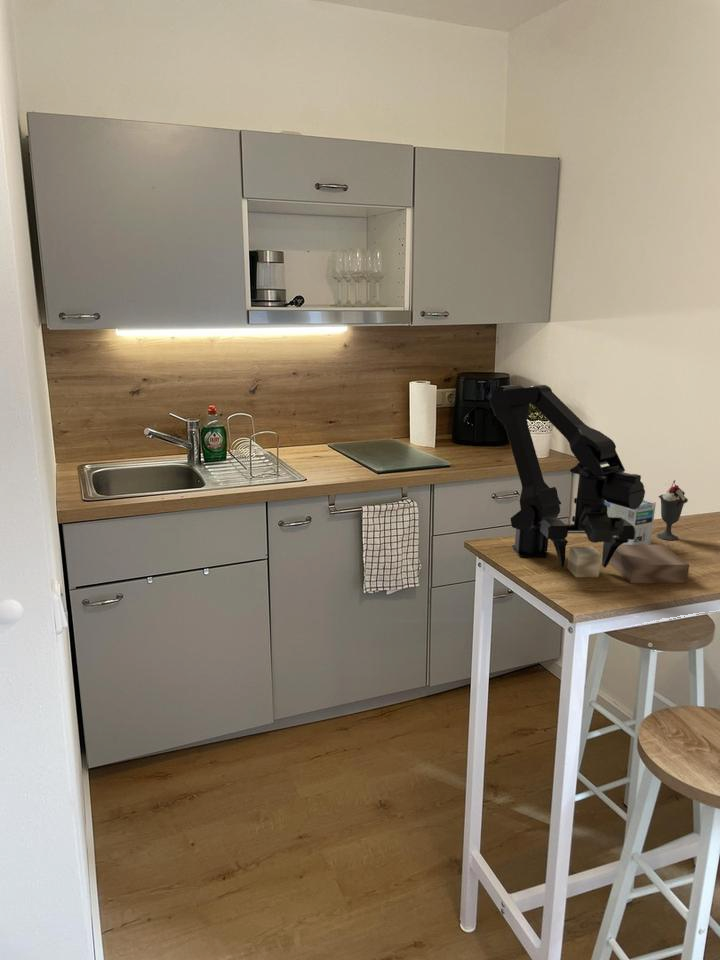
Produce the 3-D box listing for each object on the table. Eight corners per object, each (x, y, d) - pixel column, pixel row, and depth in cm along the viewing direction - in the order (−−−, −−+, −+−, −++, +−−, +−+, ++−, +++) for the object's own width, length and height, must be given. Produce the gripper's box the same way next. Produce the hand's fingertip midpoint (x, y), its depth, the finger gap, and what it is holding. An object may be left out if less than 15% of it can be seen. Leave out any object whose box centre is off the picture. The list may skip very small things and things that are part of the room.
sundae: (660, 541, 175) (668, 482, 172) (648, 532, 182) (656, 474, 178) (686, 542, 176) (695, 482, 172) (674, 532, 182) (682, 475, 178)
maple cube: (575, 577, 153) (578, 555, 151) (567, 568, 157) (569, 546, 156) (598, 577, 153) (601, 555, 152) (589, 568, 158) (592, 546, 157)
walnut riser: (631, 583, 150) (633, 565, 149) (607, 561, 162) (609, 544, 161) (686, 582, 151) (689, 564, 150) (659, 561, 163) (661, 544, 162)
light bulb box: (651, 545, 173) (657, 502, 170) (632, 549, 170) (638, 505, 167) (616, 531, 182) (621, 490, 179) (597, 535, 179) (602, 493, 176)
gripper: (560, 508, 142) (553, 582, 146) (652, 508, 144) (642, 581, 148) (542, 492, 153) (536, 562, 157) (628, 493, 155) (619, 561, 159)
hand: (583, 567), depth 155 cm, fingers open, 9 cm apart
